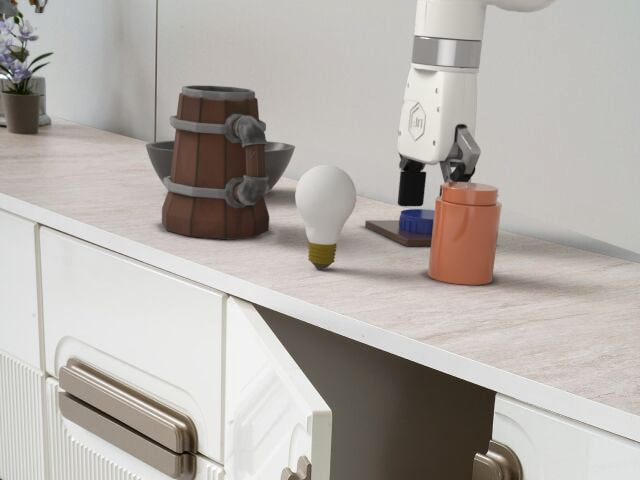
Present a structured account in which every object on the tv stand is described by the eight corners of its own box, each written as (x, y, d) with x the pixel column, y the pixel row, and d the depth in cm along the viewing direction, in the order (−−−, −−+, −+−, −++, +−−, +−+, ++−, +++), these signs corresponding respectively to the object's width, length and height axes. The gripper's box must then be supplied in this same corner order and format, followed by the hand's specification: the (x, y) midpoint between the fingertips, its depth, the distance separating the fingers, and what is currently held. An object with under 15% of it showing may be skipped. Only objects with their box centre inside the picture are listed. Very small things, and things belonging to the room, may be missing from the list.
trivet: (445, 226, 138) (446, 219, 138) (491, 245, 129) (492, 238, 129) (364, 227, 134) (365, 220, 134) (406, 246, 125) (407, 239, 124)
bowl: (313, 197, 151) (316, 150, 149) (176, 206, 138) (177, 154, 135) (259, 183, 160) (261, 138, 157) (124, 190, 146) (124, 141, 144)
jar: (471, 269, 116) (482, 181, 113) (504, 284, 111) (516, 192, 107) (416, 270, 114) (425, 180, 110) (447, 285, 108) (458, 191, 105)
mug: (144, 221, 127) (145, 81, 122) (237, 217, 134) (242, 84, 128) (208, 250, 116) (213, 97, 110) (307, 244, 122) (317, 99, 116)
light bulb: (300, 259, 115) (307, 158, 111) (356, 266, 113) (365, 164, 109) (283, 270, 109) (289, 165, 105) (341, 278, 108) (350, 171, 104)
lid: (415, 235, 127) (416, 219, 126) (389, 223, 133) (390, 208, 132) (467, 234, 130) (469, 219, 129) (439, 223, 135) (441, 208, 135)
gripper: (381, 49, 130) (368, 200, 136) (455, 60, 115) (436, 228, 122) (438, 53, 133) (423, 200, 139) (517, 64, 118) (496, 227, 125)
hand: (429, 213), depth 130 cm, fingers open, 9 cm apart
